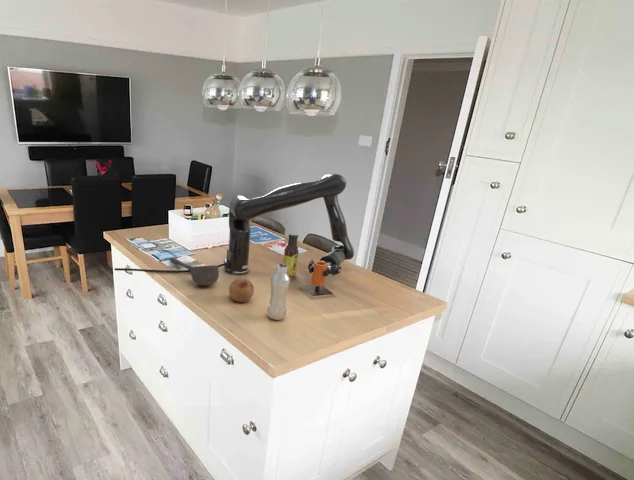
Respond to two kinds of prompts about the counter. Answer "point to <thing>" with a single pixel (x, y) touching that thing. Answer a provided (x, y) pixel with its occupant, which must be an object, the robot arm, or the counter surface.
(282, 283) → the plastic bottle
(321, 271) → the orange grooved tube
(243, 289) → the onion
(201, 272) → the ladle
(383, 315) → the counter surface
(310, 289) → the stand
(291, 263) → the sauce bottle
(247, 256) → the robot arm
